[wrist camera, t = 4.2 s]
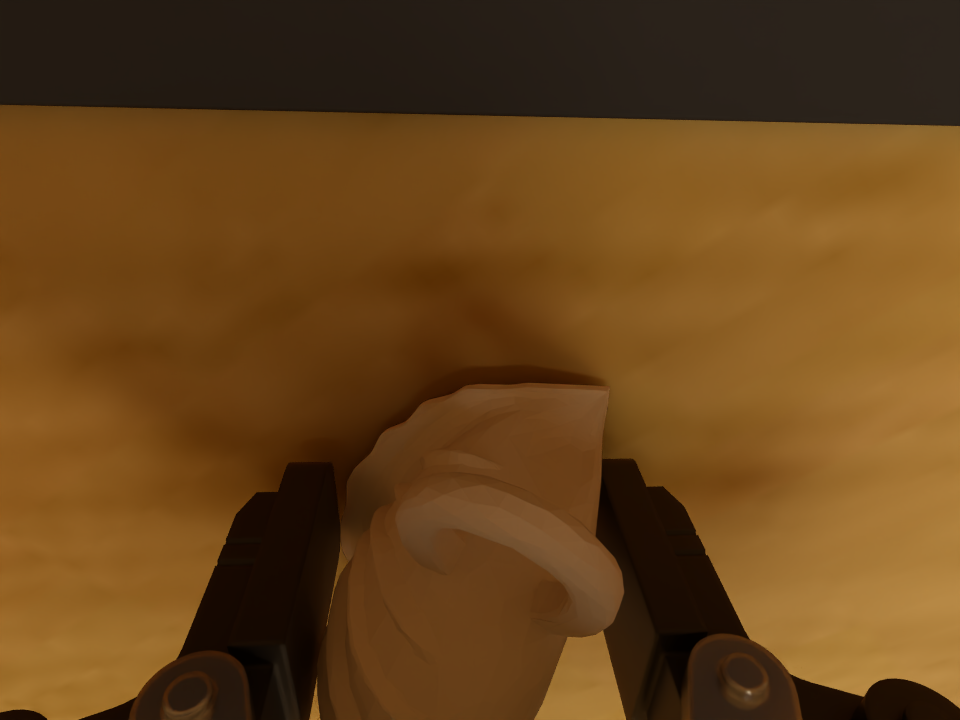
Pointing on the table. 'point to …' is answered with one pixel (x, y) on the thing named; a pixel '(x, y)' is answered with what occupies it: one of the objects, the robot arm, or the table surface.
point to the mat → (494, 57)
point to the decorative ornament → (470, 557)
